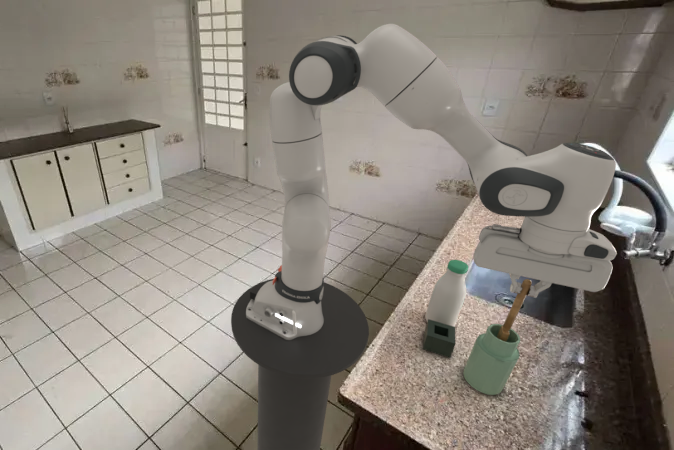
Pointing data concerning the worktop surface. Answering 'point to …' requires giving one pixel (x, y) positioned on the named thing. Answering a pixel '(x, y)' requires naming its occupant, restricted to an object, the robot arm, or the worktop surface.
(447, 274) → the milk bottle
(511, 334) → the green jar
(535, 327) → the worktop surface
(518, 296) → the wooden stick
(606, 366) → the worktop surface
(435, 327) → the spoon holder
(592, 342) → the worktop surface
